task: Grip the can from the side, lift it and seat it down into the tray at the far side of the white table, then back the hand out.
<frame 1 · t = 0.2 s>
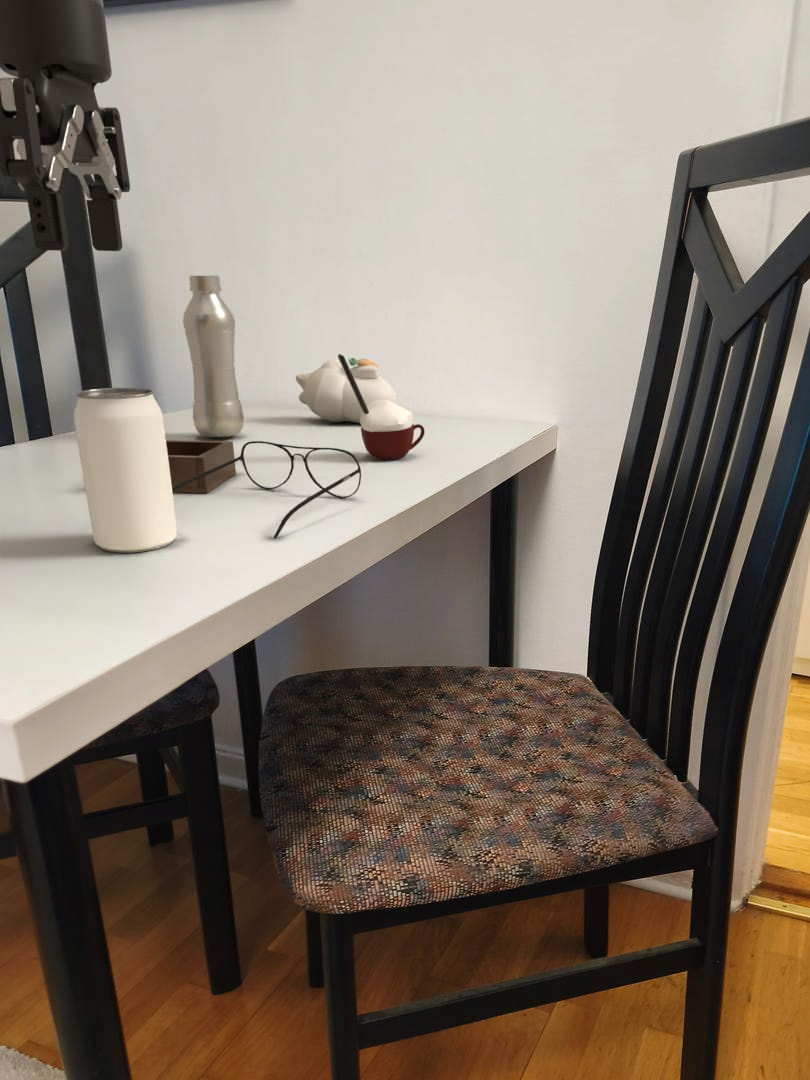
hand: (81, 250, 69), 22 cm above the table, tool pointing down, fingers open, 8 cm apart
tray: (180, 482, 94), on the table
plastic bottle: (220, 438, 119), on the table
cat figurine: (347, 423, 132), on the table
cocoa: (384, 458, 107), on the table
glasses: (259, 511, 83), on the table
can: (137, 544, 73), on the table
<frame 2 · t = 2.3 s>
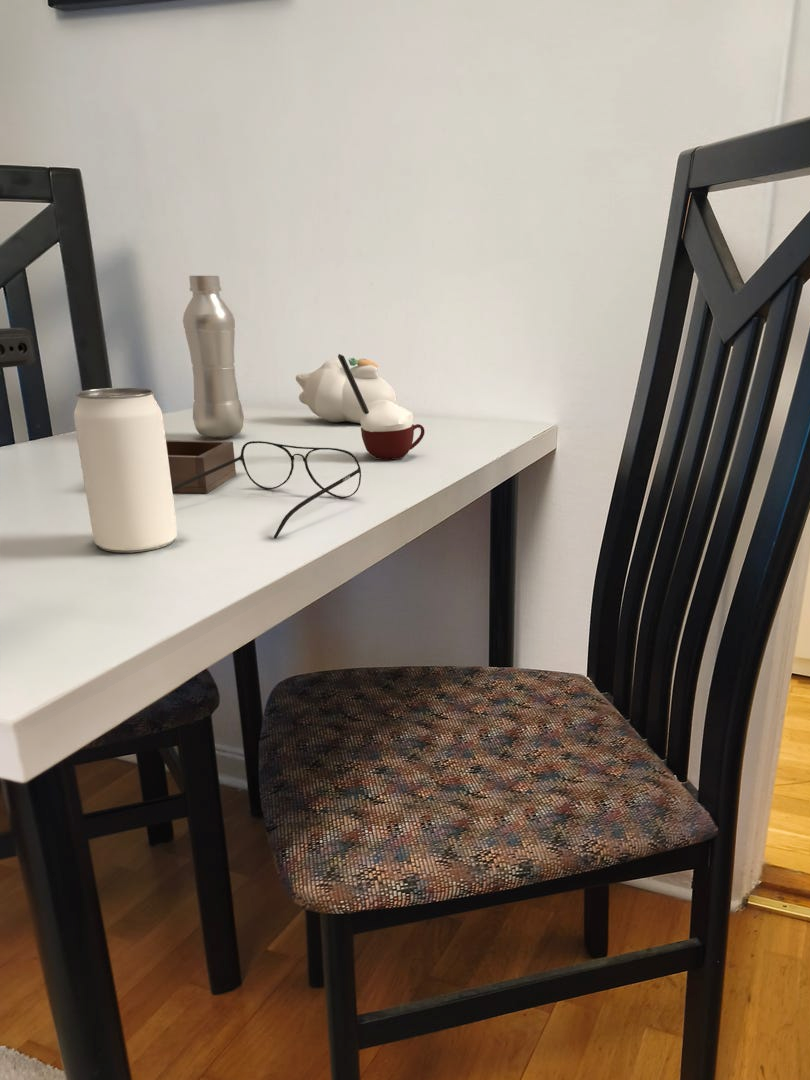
nothing on the table moved.
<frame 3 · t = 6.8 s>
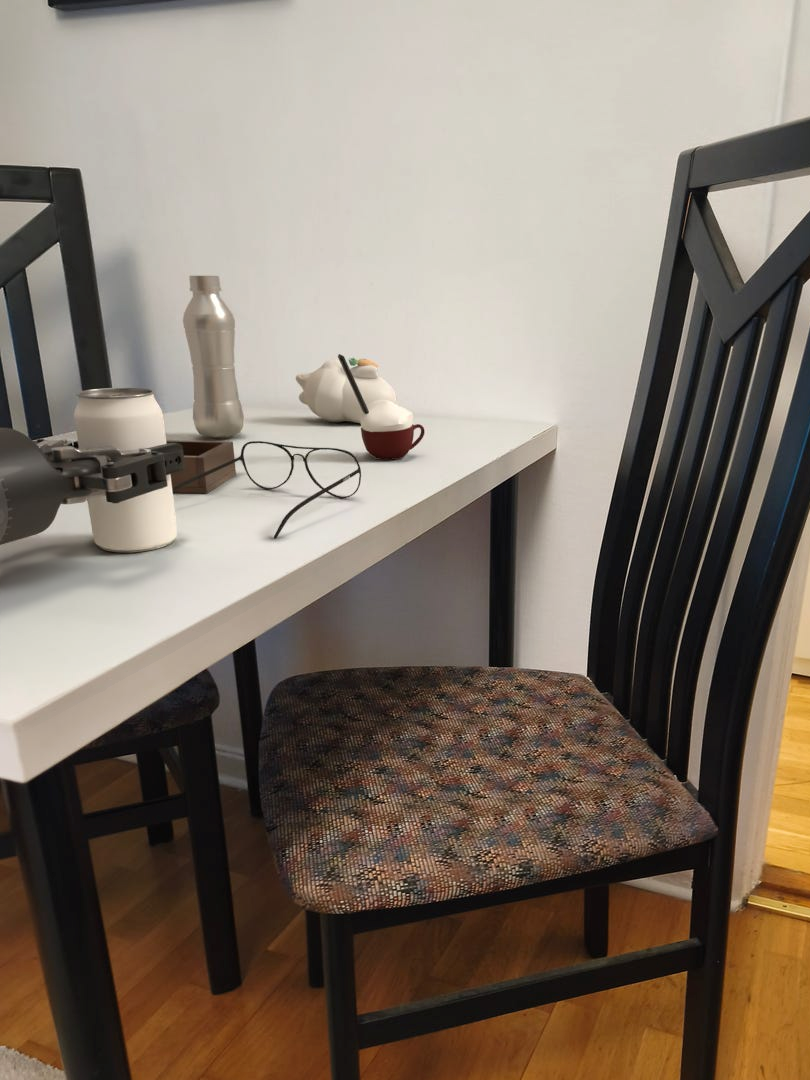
hand: (145, 452, 72), 7 cm above the table, tool horizontal, fingers closed on can, 6 cm apart
can: (137, 544, 73), on the table, touching gripper
everything else where it was.
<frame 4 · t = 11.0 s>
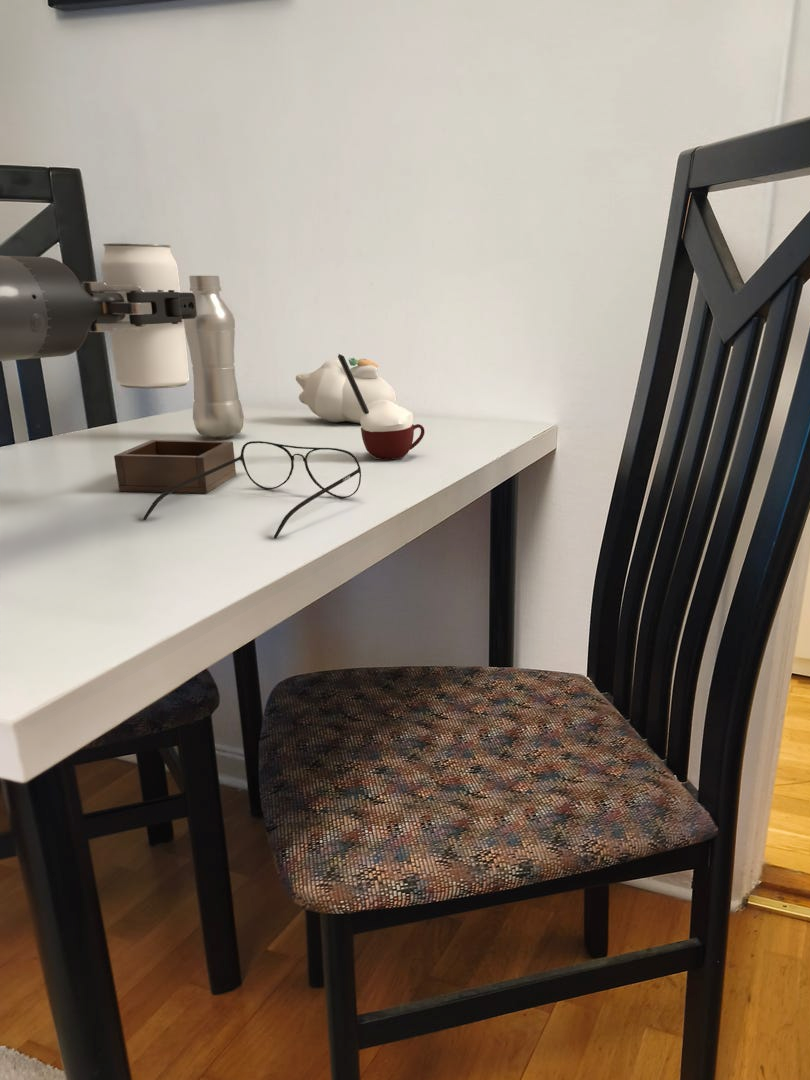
hand: (162, 304, 82), 18 cm above the table, tool horizontal, fingers closed on can, 6 cm apart
can: (154, 387, 83), point 11 cm above the table, touching gripper
everything else where it was.
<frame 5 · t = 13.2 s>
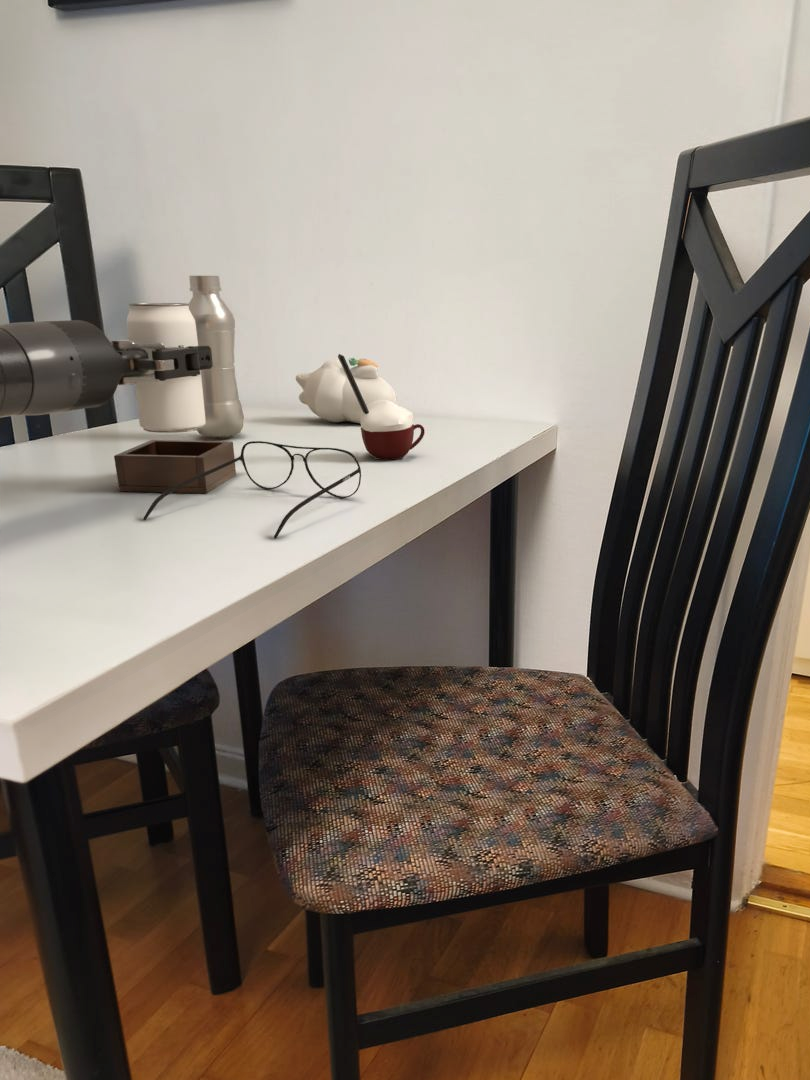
hand: (181, 355, 91), 13 cm above the table, tool horizontal, fingers closed on can, 6 cm apart
can: (173, 430, 91), point 5 cm above the table, touching gripper
everything else where it was.
when the fingers open (8 cm above the table, at t = 15.2 s): can stays where it is, resting on tray.
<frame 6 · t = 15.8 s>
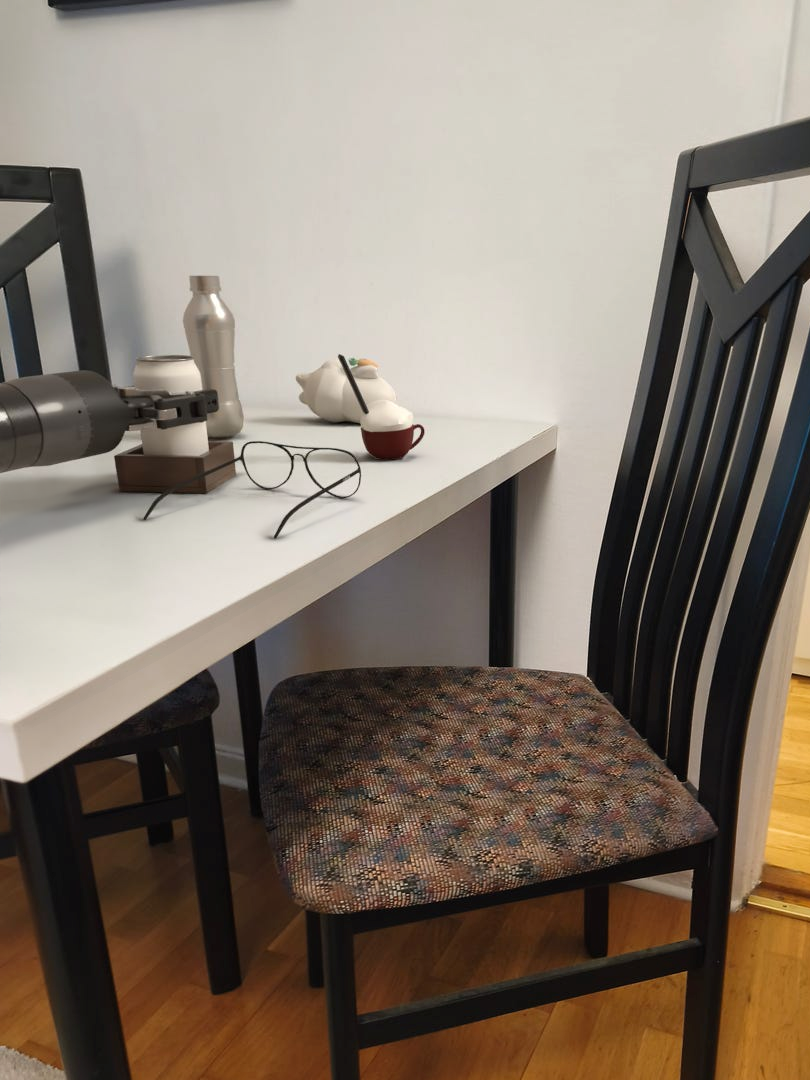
hand: (182, 397, 92), 9 cm above the table, tool horizontal, fingers open, 8 cm apart
can: (179, 478, 93), resting on tray
everything else where it was.
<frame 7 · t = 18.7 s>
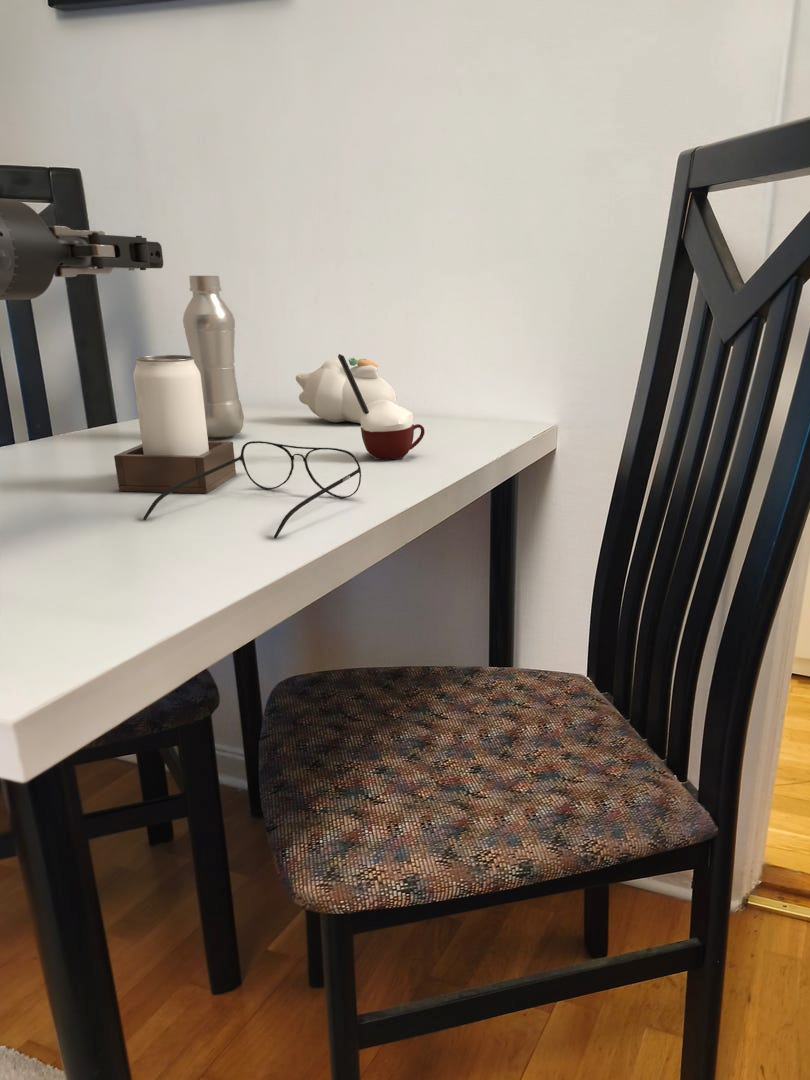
hand: (122, 255, 83), 22 cm above the table, tool horizontal, fingers open, 8 cm apart
nothing on the table moved.
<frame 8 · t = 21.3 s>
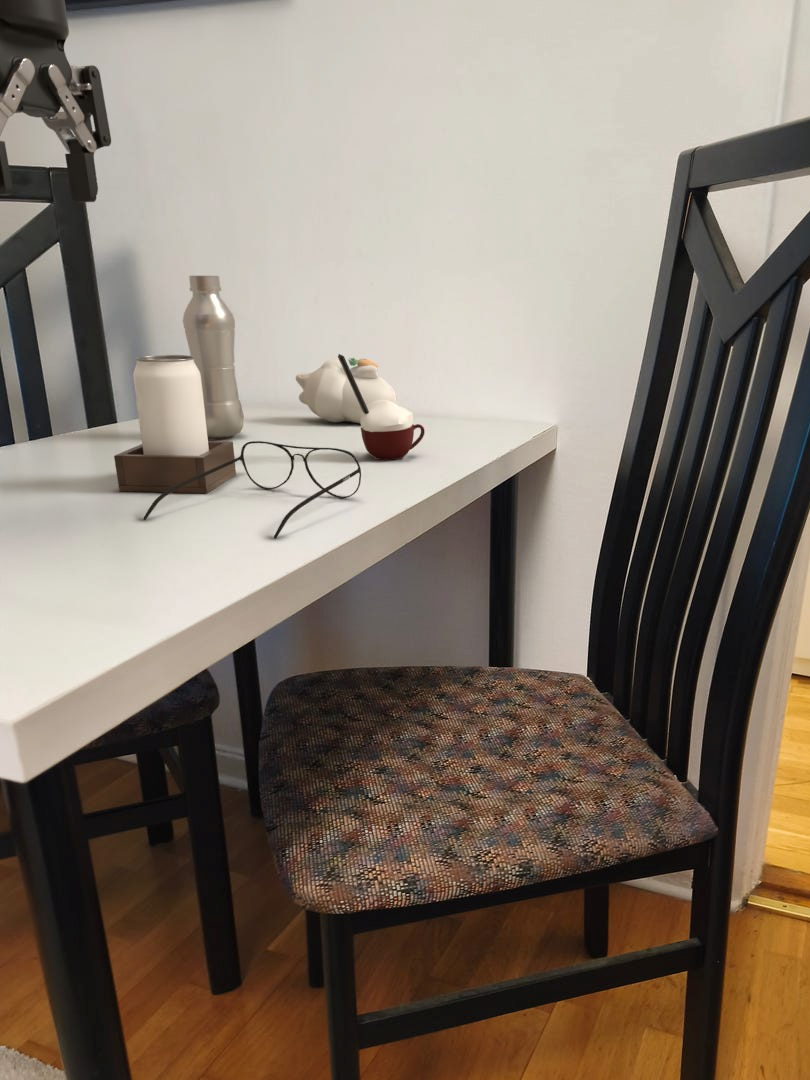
hand: (44, 198, 74), 26 cm above the table, tool pointing down, fingers open, 8 cm apart
nothing on the table moved.
at the end: can 0.1 cm off-centre in the tray, point 0.4 cm above the tray's base; can tilted 0°; the gripper is holding nothing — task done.
